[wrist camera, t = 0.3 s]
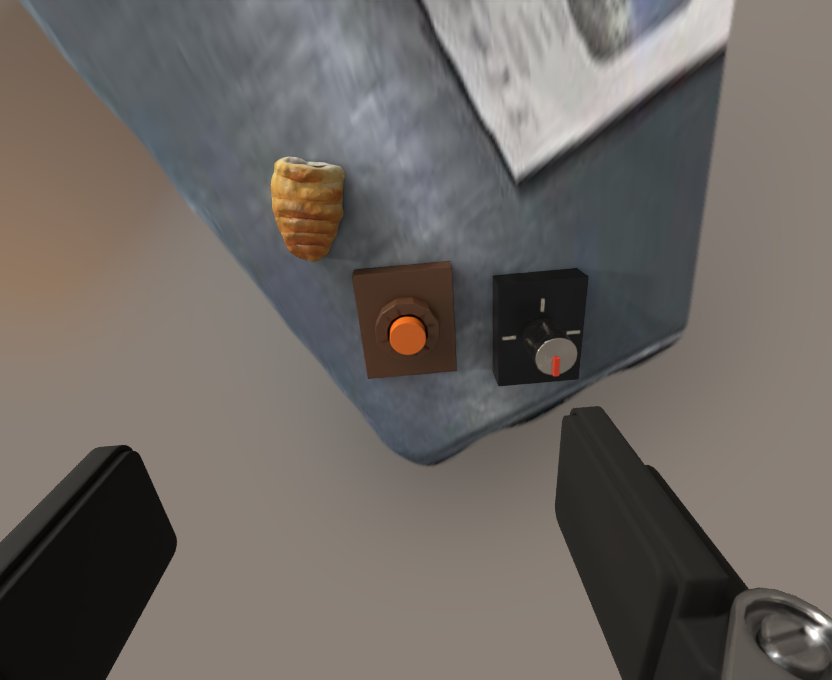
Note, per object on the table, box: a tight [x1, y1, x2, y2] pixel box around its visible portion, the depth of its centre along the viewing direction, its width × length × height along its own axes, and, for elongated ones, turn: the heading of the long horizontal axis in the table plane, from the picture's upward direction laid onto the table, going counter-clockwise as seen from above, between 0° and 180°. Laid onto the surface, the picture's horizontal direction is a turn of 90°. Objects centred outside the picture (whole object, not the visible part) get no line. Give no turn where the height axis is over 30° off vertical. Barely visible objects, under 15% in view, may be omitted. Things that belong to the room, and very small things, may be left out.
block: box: [352, 261, 457, 379], centre depth 45 cm, size 12×10×4 cm
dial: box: [522, 318, 577, 376], centre depth 43 cm, size 4×4×5 cm
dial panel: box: [493, 268, 588, 386], centre depth 47 cm, size 12×9×3 cm
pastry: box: [271, 157, 345, 262], centre depth 40 cm, size 9×7×4 cm
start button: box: [390, 316, 426, 355], centre depth 43 cm, size 4×4×2 cm
